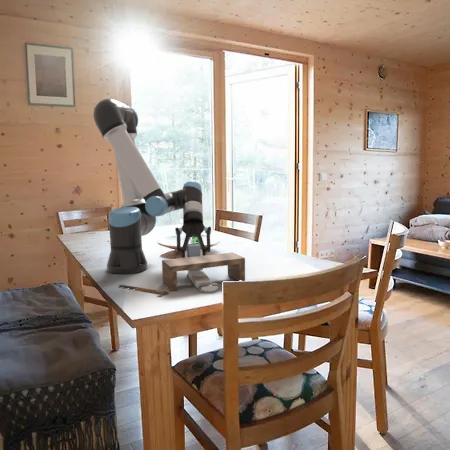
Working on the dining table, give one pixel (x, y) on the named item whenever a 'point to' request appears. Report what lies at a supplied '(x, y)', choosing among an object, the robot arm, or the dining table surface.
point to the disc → (208, 287)
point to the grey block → (196, 274)
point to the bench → (202, 266)
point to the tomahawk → (146, 290)
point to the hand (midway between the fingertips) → (194, 268)
